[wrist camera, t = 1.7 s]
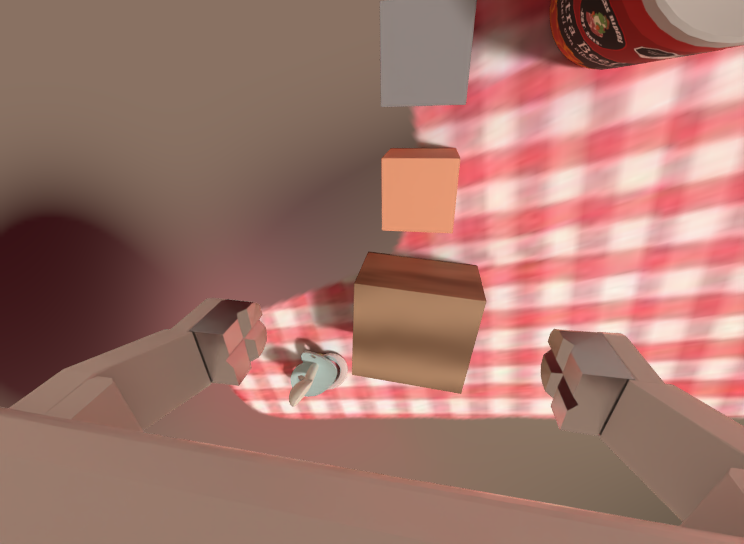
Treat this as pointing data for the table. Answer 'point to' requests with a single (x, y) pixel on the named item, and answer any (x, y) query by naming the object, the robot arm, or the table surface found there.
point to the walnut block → (416, 320)
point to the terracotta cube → (419, 189)
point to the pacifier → (316, 375)
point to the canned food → (643, 29)
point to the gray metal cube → (425, 51)
